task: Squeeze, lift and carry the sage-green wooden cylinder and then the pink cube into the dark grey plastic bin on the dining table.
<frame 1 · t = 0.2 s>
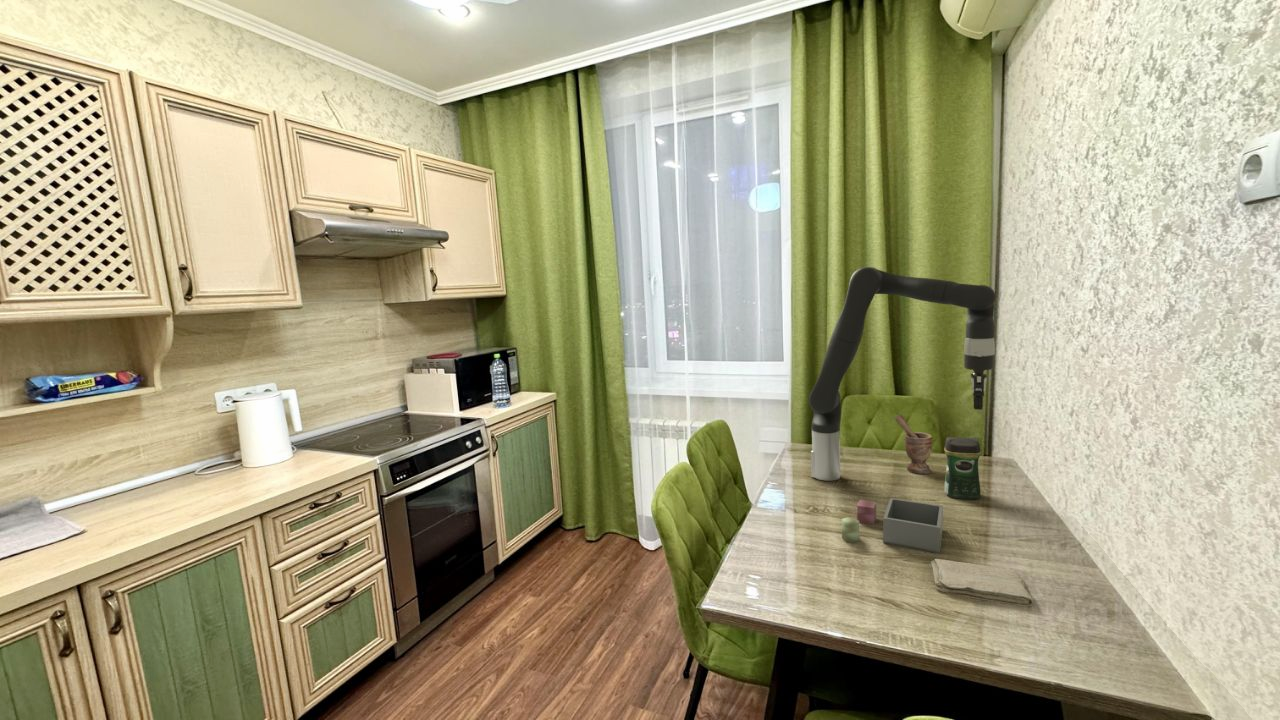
hand: (977, 405, 153), 29 cm above the table, fingers open, 8 cm apart
green cylinder: (850, 538, 139), on the table
bin: (913, 536, 137), on the table
coffee jar: (961, 495, 160), on the table
mortar and pestle: (913, 470, 182), on the table
pink cube: (866, 520, 148), on the table
washcloth: (977, 587, 115), on the table
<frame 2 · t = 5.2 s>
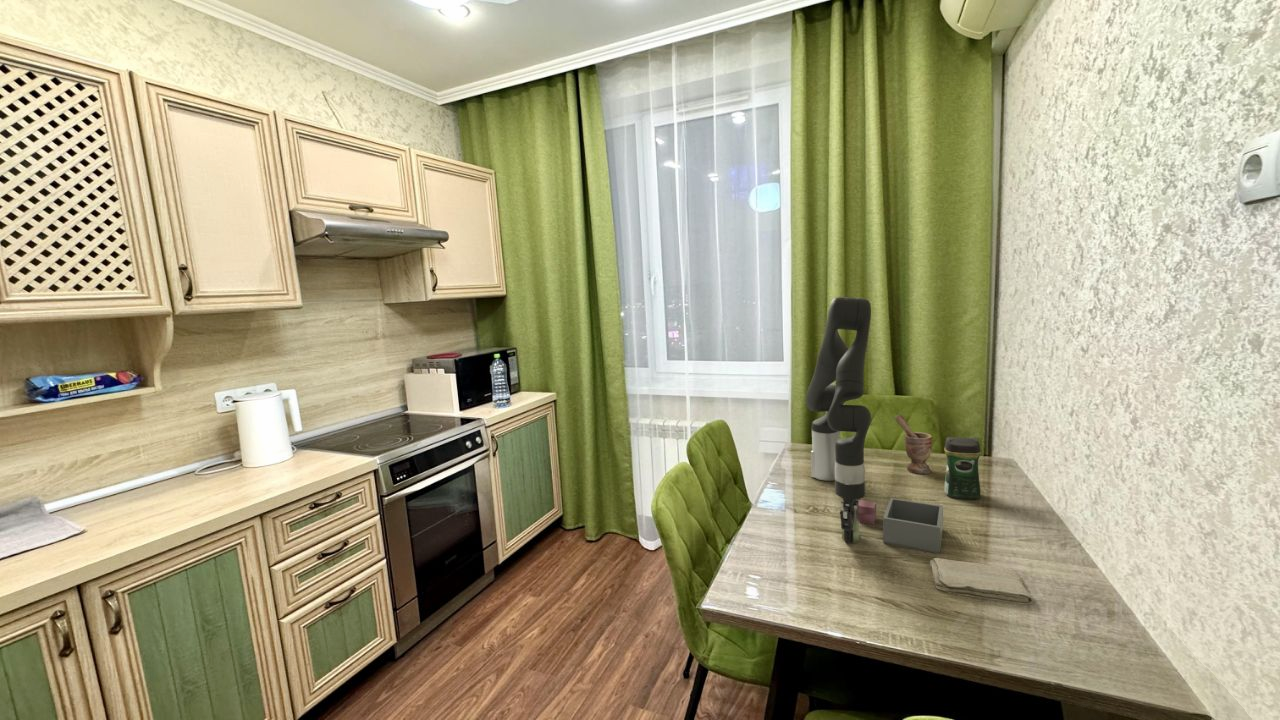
hand: (850, 537, 139), 0 cm above the table, fingers closed on green cylinder, 4 cm apart
green cylinder: (850, 538, 139), on the table, touching gripper
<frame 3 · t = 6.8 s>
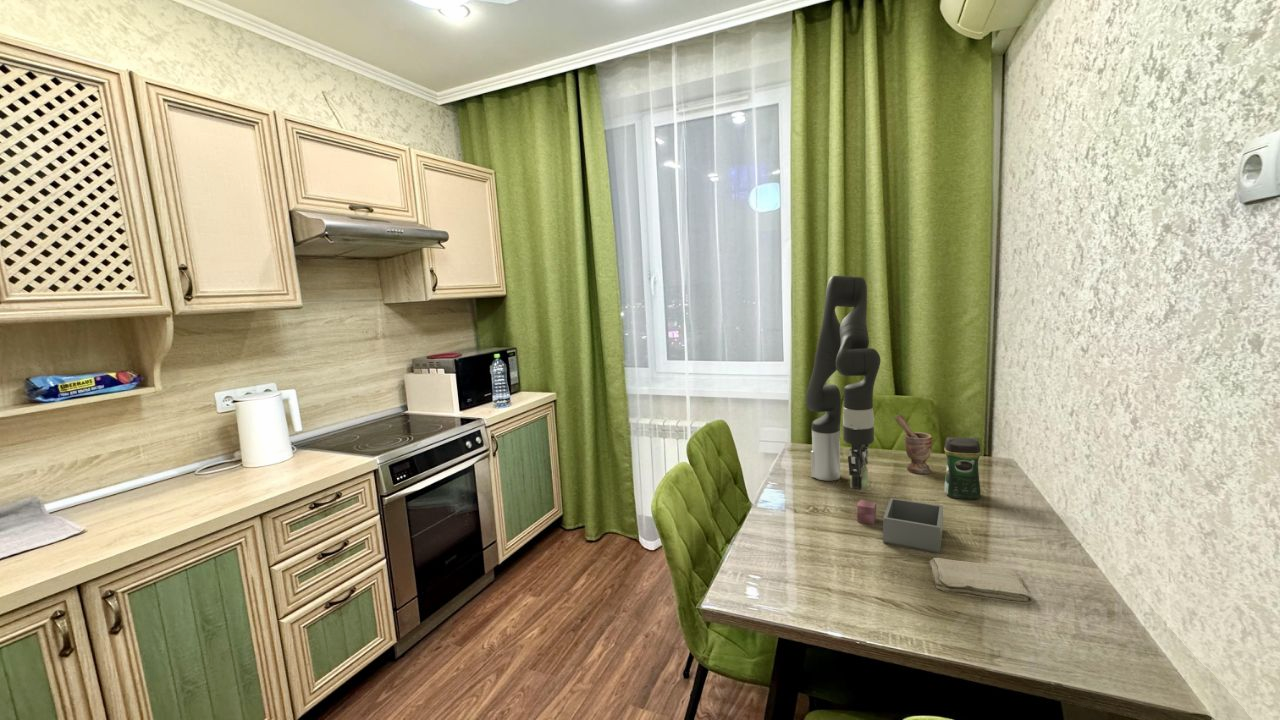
hand: (858, 485, 136), 15 cm above the table, fingers closed on green cylinder, 4 cm apart
green cylinder: (858, 486, 136), point 15 cm above the table, touching gripper
everything else where it was.
when the fingers open (8 cm above the table, at t = 8.4 s): green cylinder drops 7 cm, resting on bin.
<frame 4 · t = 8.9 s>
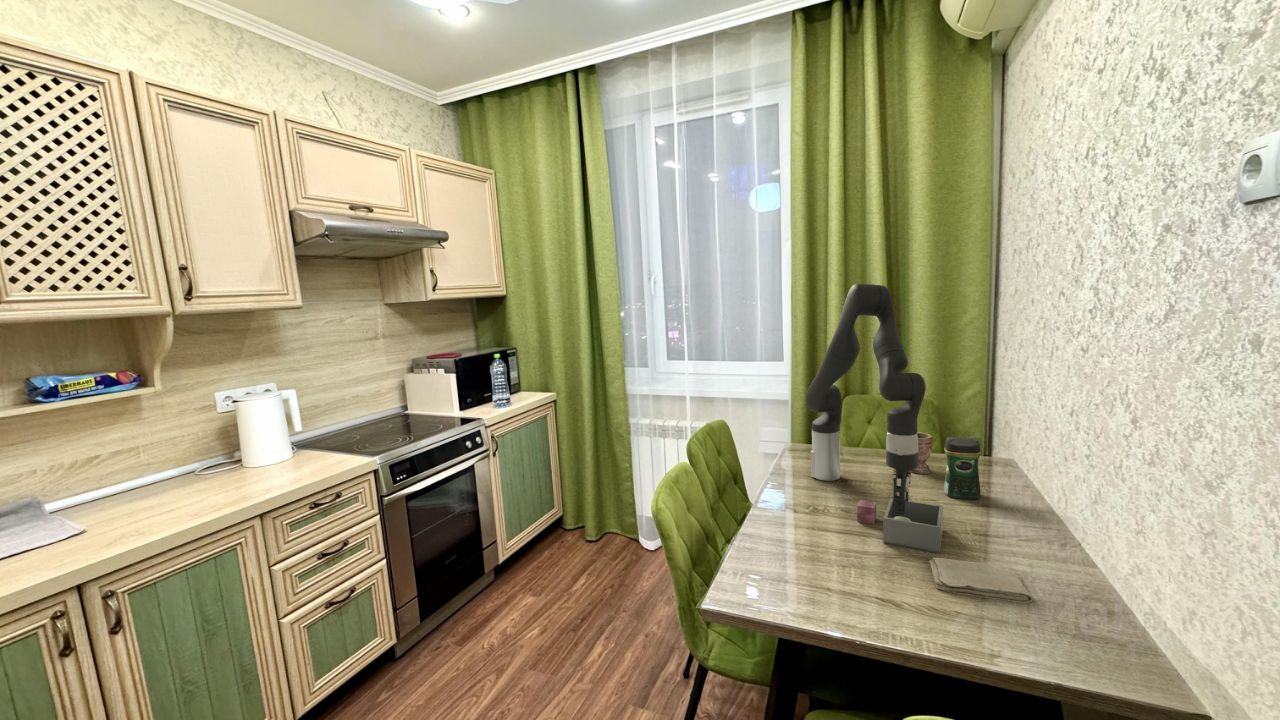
hand: (901, 507, 135), 9 cm above the table, fingers open, 8 cm apart
green cylinder: (901, 537, 136), resting on bin
everything else where it was.
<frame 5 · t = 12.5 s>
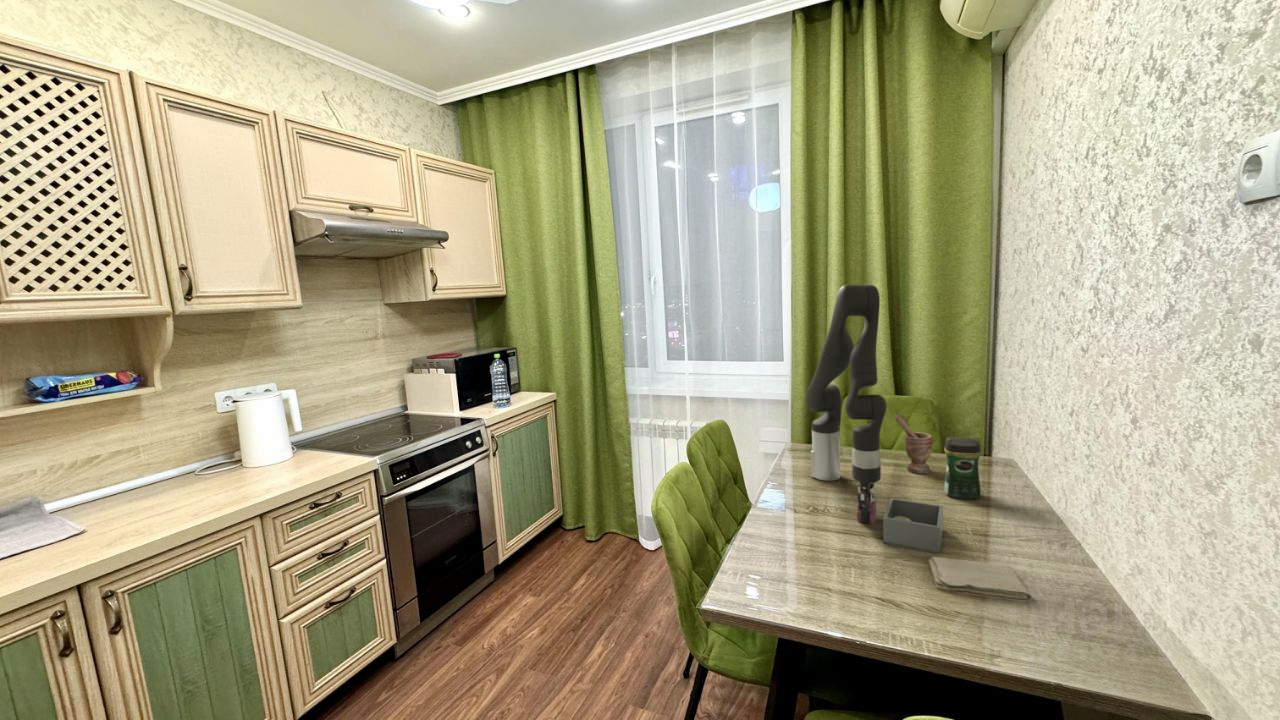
hand: (866, 518, 148), 0 cm above the table, fingers closed on pink cube, 4 cm apart
pink cube: (866, 519, 148), on the table, touching gripper
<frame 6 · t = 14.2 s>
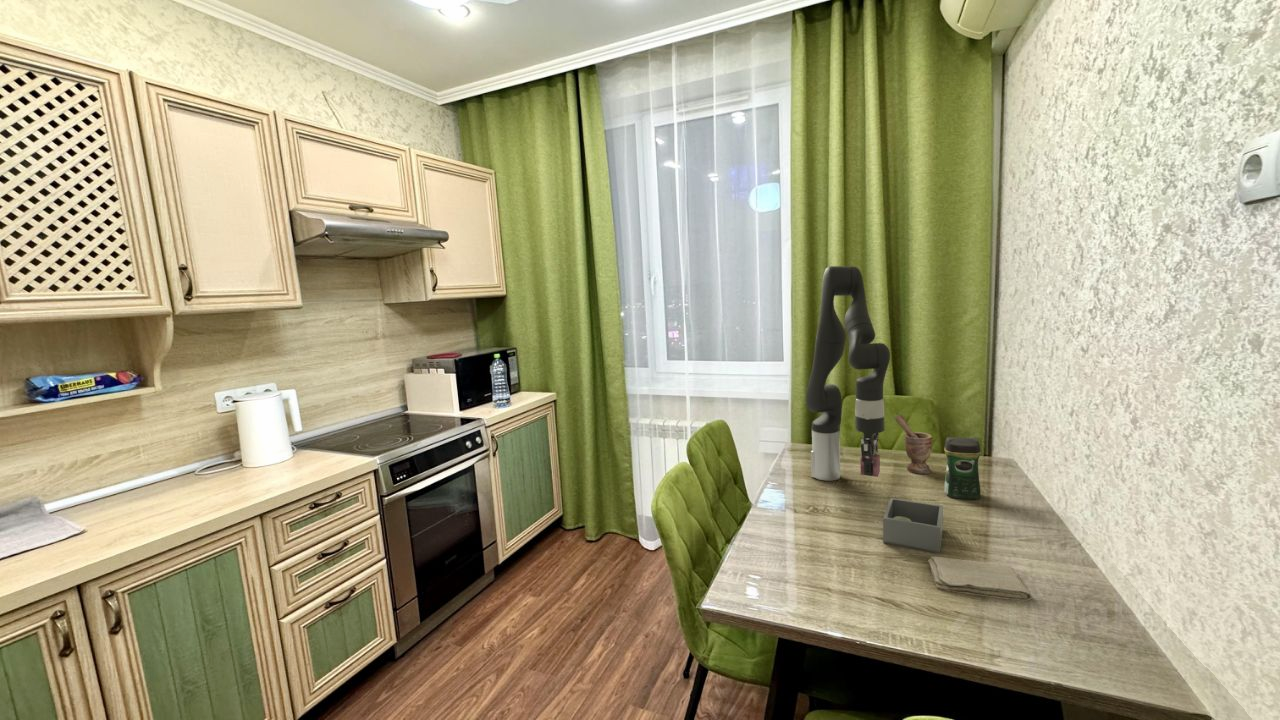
hand: (870, 471, 145), 15 cm above the table, fingers closed on pink cube, 4 cm apart
pink cube: (870, 473, 146), point 15 cm above the table, touching gripper
when the fingers open (8 cm above the table, at t = 16.2 s): pink cube drops 7 cm, resting on bin.
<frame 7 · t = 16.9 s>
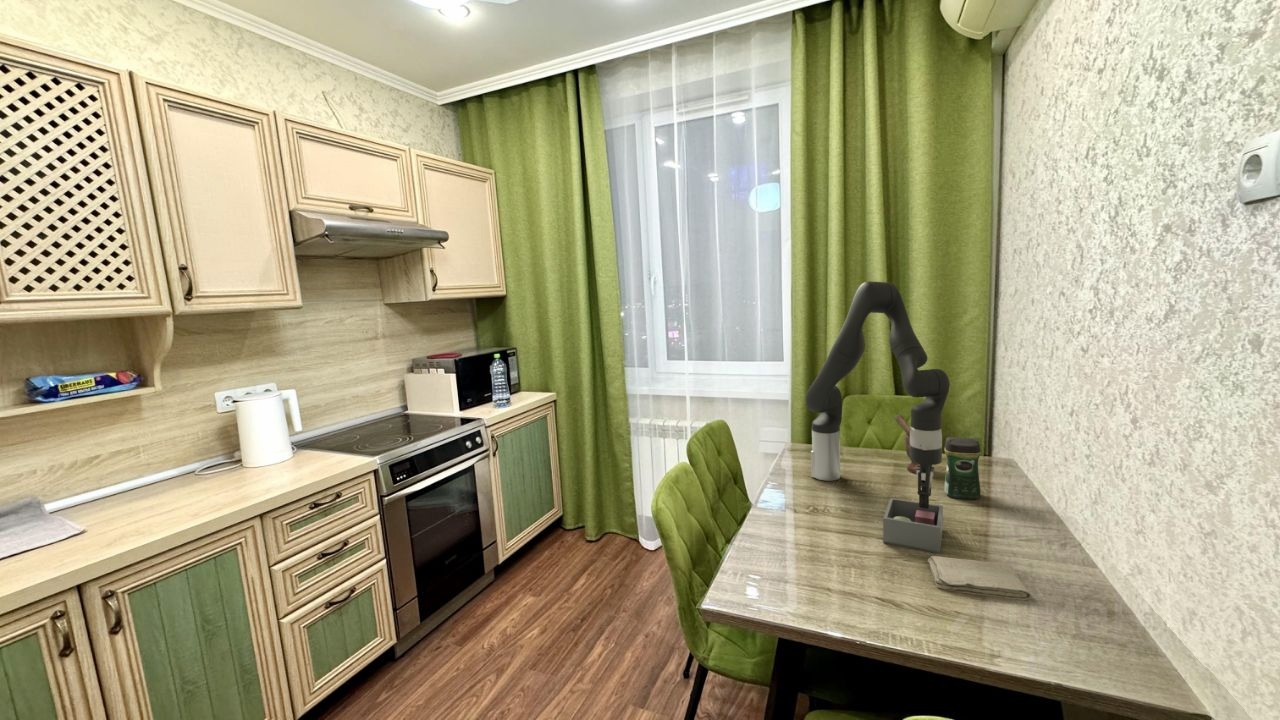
hand: (925, 501, 137), 9 cm above the table, fingers open, 8 cm apart
pink cube: (924, 531, 138), resting on bin
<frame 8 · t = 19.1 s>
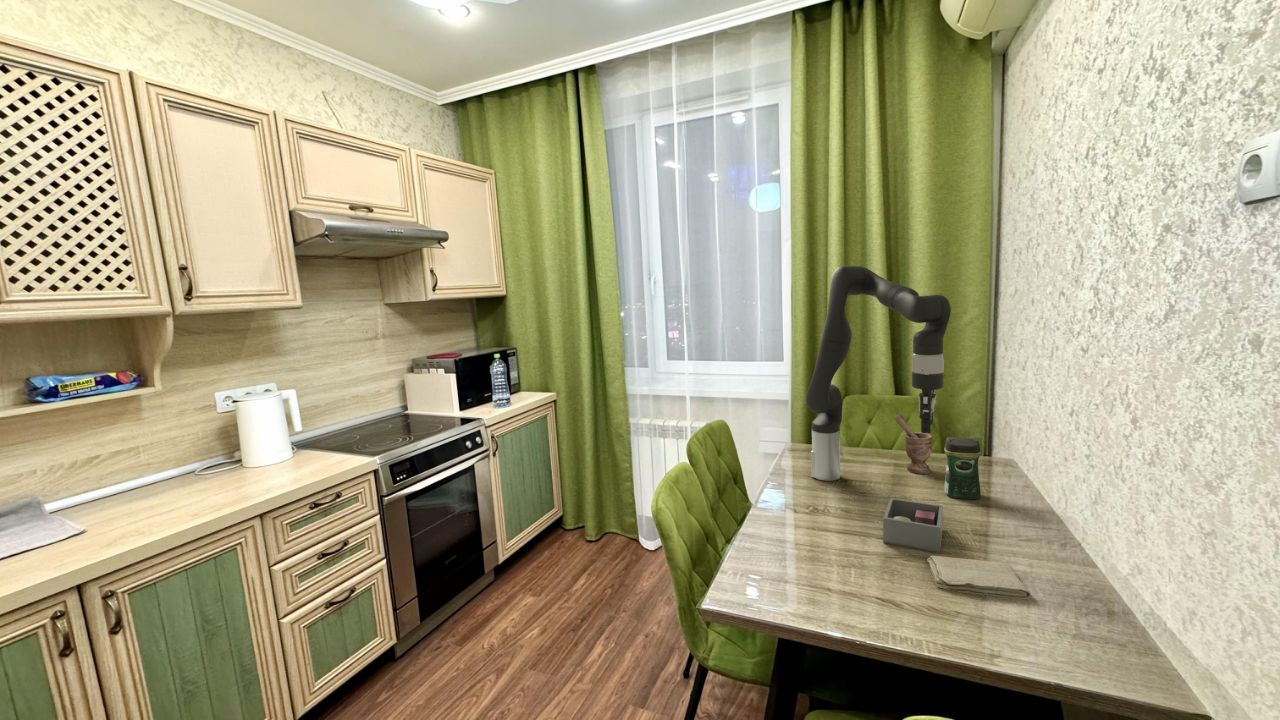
hand: (927, 428, 139), 28 cm above the table, fingers open, 8 cm apart
at the end: green cylinder inside the target area on the bin (4.0 cm from its centre), point 0.5 cm above the bin's base; pink cube inside the target area on the bin (3.8 cm from its centre), point 0.5 cm above the bin's base; the gripper is holding nothing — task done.
